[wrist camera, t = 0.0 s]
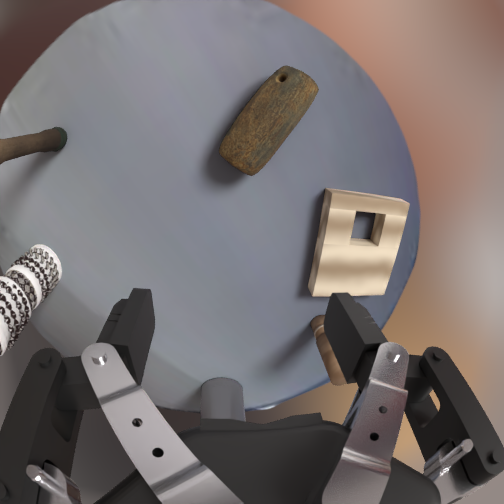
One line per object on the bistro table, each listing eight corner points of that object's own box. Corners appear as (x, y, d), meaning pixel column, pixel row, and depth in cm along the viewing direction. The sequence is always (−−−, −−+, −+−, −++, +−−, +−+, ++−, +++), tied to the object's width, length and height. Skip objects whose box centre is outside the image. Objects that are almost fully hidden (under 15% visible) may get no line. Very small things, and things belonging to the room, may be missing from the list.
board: (376, 286, 49) (383, 294, 46) (307, 286, 47) (312, 296, 45) (399, 198, 42) (409, 203, 39) (325, 188, 40) (332, 192, 37)
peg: (327, 330, 52) (351, 383, 40) (307, 331, 52) (327, 386, 39) (332, 313, 50) (359, 366, 38) (311, 313, 50) (335, 369, 37)
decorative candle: (20, 258, 39) (-56, 338, 17) (42, 232, 38) (-49, 316, 16) (48, 293, 43) (-15, 386, 21) (72, 272, 42) (-1, 374, 19)
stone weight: (270, 64, 32) (279, 53, 26) (312, 91, 34) (329, 85, 28) (214, 153, 37) (212, 158, 31) (258, 177, 39) (264, 186, 33)
